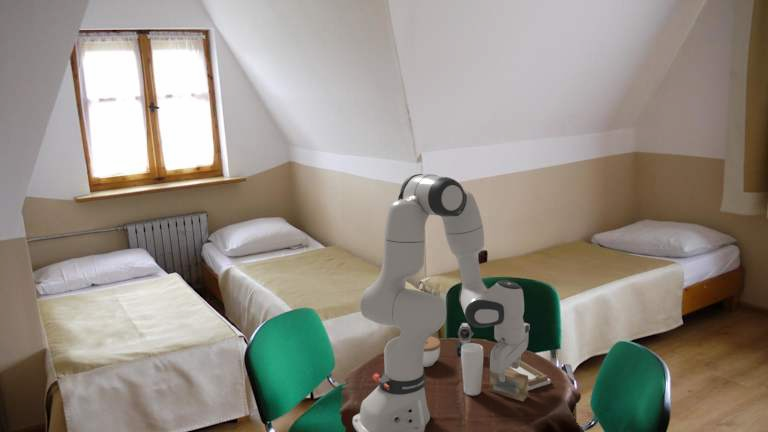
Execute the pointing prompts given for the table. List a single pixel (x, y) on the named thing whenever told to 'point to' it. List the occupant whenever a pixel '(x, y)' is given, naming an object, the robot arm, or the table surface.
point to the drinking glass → (472, 368)
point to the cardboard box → (510, 385)
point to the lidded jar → (431, 351)
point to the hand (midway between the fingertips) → (509, 374)
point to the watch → (463, 336)
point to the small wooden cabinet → (531, 375)
